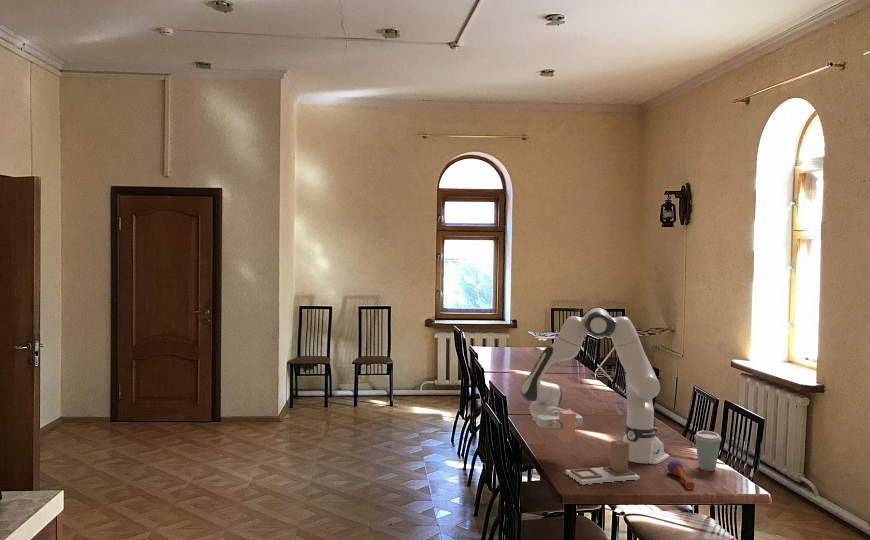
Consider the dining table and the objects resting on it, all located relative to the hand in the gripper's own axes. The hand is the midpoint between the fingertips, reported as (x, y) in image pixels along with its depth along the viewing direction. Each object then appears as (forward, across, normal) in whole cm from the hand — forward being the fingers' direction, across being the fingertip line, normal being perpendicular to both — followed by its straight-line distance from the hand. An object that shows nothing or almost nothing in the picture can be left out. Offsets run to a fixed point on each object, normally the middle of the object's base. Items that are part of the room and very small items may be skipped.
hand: (568, 425), depth 290 cm
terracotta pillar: (-1, 0, +7) cm, 7 cm away
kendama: (+26, +37, +17) cm, 49 cm away
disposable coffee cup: (+16, +58, +17) cm, 62 cm away
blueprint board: (+16, +7, +17) cm, 24 cm away
